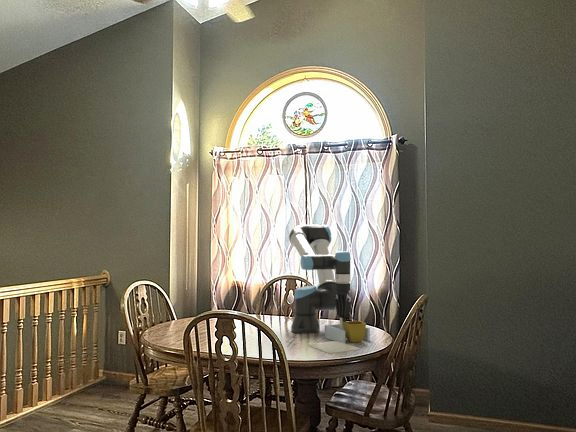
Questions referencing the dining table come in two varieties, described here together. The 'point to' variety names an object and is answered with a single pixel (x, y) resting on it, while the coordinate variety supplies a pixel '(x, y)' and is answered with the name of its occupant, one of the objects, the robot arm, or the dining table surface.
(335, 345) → the tile
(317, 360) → the dining table surface
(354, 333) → the flower pot
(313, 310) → the robot arm
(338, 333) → the shelf bay
